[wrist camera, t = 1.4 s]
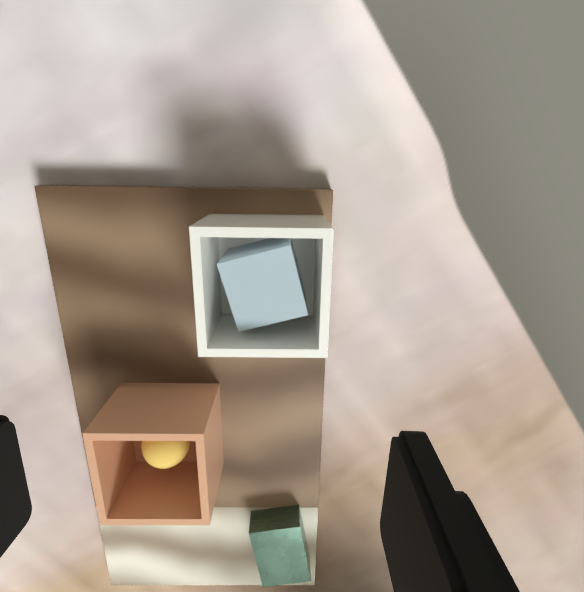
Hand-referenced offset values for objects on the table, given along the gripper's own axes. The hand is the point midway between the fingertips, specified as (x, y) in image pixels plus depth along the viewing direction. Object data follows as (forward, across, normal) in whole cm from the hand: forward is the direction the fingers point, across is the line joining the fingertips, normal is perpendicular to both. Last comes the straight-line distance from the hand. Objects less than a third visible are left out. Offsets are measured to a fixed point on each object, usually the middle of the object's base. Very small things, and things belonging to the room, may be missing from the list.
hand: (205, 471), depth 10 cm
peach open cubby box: (+16, +6, +11) cm, 21 cm away
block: (+16, 0, -1) cm, 16 cm away
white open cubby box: (+16, 0, -1) cm, 17 cm away
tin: (+17, -2, +22) cm, 28 cm away
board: (+18, +4, +11) cm, 21 cm away
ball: (+16, +6, +11) cm, 20 cm away
